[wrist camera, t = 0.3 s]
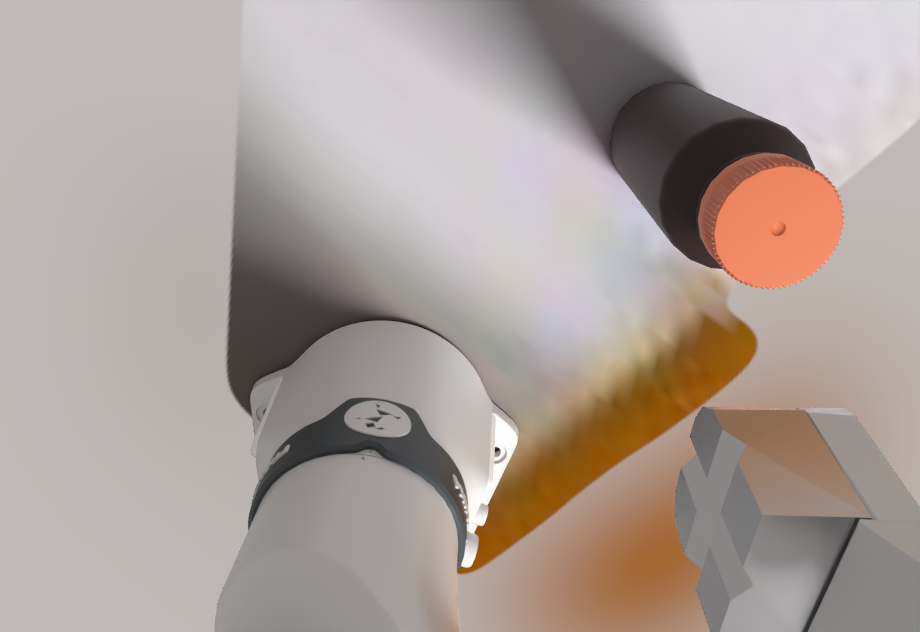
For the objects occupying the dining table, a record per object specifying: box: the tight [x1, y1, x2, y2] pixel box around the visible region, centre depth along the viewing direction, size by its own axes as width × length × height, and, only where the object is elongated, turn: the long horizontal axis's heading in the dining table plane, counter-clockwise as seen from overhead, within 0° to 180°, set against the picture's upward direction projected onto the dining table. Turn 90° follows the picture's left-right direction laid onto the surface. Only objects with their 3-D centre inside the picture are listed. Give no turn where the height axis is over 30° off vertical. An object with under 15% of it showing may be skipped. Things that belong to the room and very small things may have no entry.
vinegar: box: [610, 82, 844, 289], centre depth 39 cm, size 7×7×20 cm
